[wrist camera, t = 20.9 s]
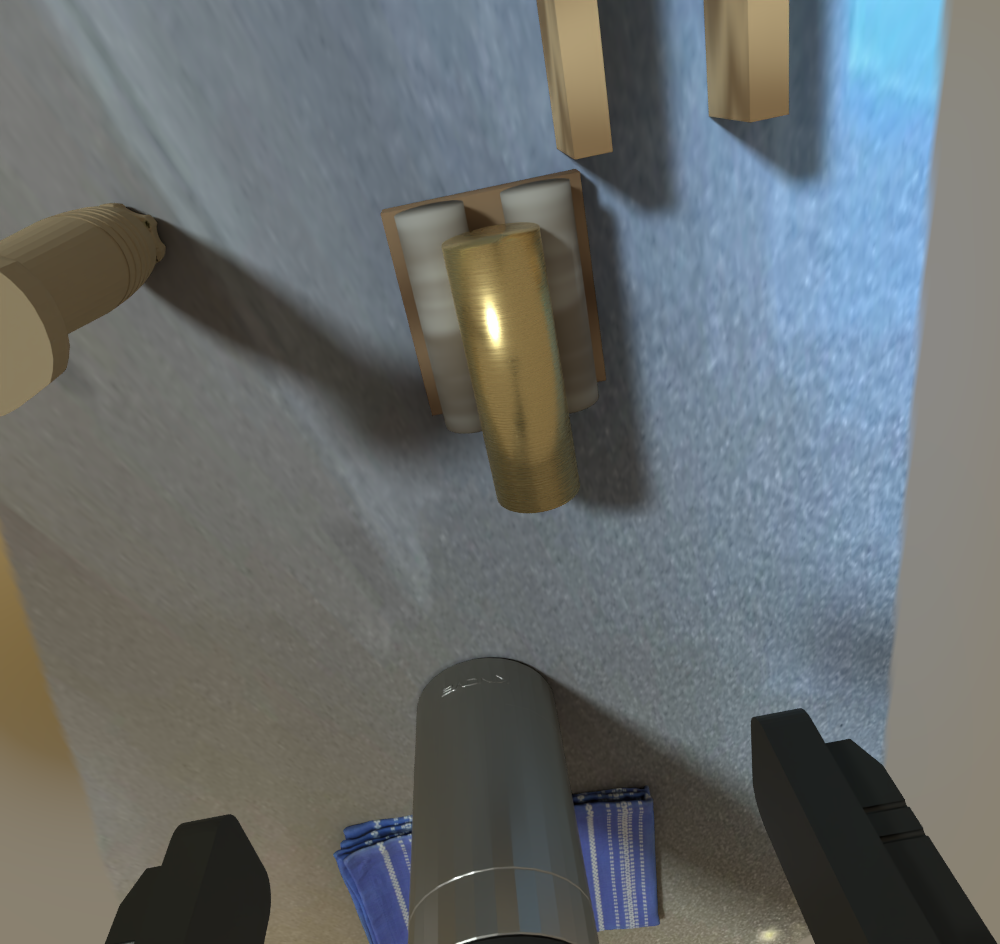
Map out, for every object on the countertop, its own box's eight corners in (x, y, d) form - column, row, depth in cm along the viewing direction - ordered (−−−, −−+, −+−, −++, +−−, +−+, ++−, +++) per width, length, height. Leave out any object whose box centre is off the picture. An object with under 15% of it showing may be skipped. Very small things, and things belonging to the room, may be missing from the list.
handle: (217, 280, 35) (80, 404, 21) (83, 301, 35) (-136, 439, 22) (181, 171, 32) (3, 236, 19) (38, 194, 32) (-239, 275, 19)
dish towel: (331, 819, 54) (326, 855, 52) (650, 772, 54) (661, 806, 52) (379, 950, 62) (377, 986, 60) (656, 909, 62) (665, 944, 60)
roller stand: (601, 371, 38) (618, 403, 35) (432, 406, 38) (431, 441, 35) (575, 169, 33) (592, 180, 30) (382, 209, 34) (375, 226, 30)
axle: (569, 461, 37) (588, 500, 33) (492, 480, 37) (503, 521, 33) (529, 217, 31) (548, 233, 28) (438, 237, 31) (445, 256, 28)
